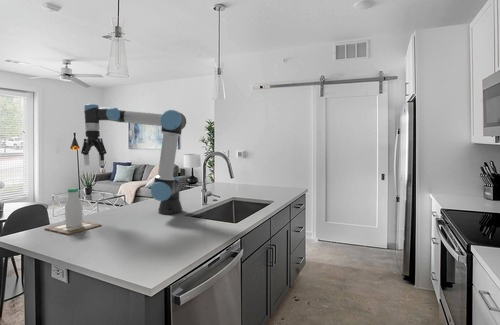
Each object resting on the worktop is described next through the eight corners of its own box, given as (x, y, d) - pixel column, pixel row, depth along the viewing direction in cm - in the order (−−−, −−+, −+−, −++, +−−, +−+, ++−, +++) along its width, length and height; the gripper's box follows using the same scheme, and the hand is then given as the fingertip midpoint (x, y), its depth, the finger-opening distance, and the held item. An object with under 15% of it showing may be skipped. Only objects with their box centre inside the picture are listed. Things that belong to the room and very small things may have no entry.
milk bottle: (86, 224, 157) (84, 188, 156) (72, 228, 150) (70, 190, 149) (76, 223, 161) (75, 187, 159) (62, 226, 154) (60, 189, 152)
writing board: (101, 225, 159) (101, 224, 159) (68, 235, 143) (68, 233, 143) (78, 221, 168) (78, 219, 168) (44, 229, 152) (44, 228, 152)
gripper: (73, 130, 178) (75, 165, 179) (100, 129, 167) (102, 166, 168) (85, 131, 185) (86, 164, 186) (112, 130, 173) (113, 165, 175)
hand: (94, 165), depth 177 cm, fingers open, 13 cm apart
